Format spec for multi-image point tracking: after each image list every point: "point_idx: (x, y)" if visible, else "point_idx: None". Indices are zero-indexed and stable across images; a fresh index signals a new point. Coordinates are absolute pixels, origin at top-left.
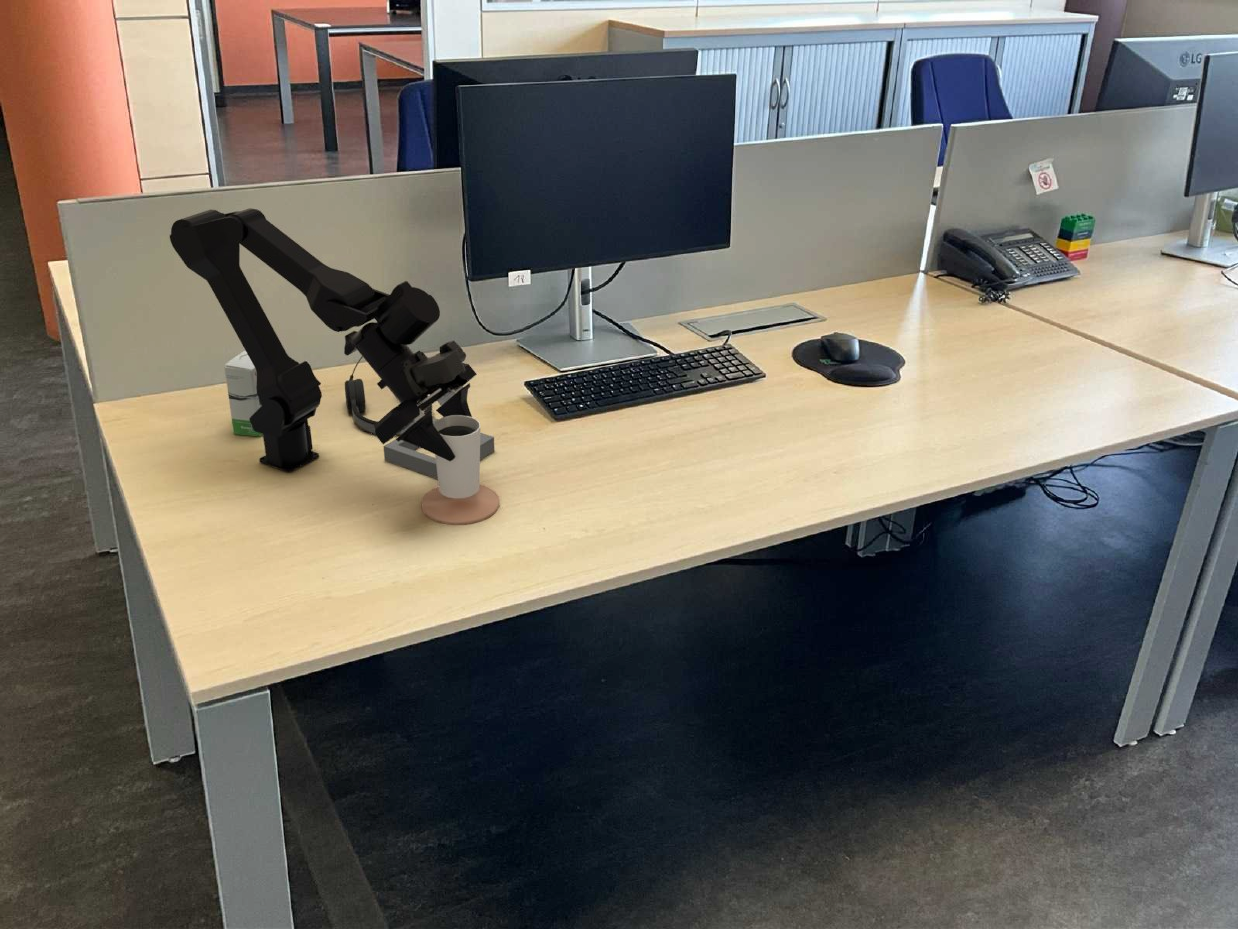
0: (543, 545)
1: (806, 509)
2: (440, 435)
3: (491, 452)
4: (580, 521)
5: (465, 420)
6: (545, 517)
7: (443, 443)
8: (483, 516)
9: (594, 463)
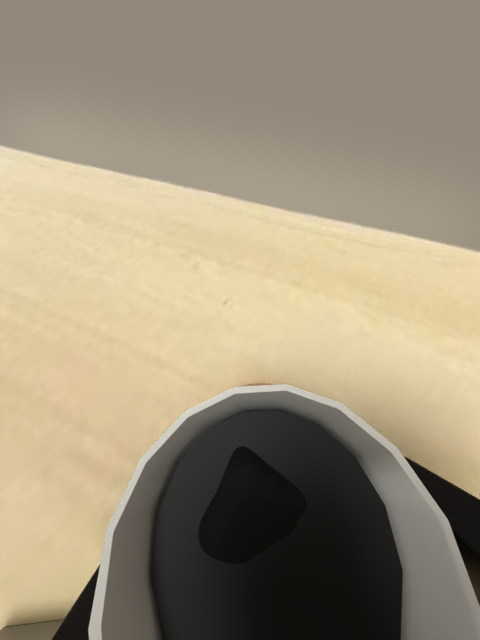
0: (258, 277)
1: (48, 172)
2: (471, 541)
3: (15, 627)
4: (180, 283)
5: (124, 634)
6: (199, 320)
7: (431, 481)
8: (270, 384)
9: (6, 376)
